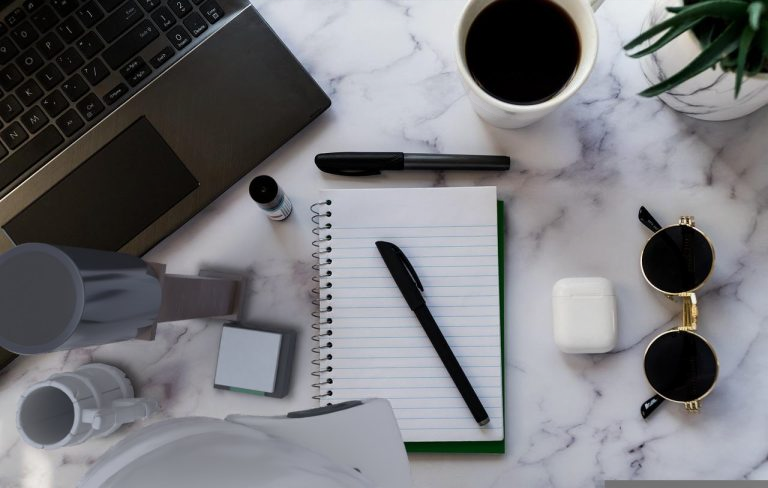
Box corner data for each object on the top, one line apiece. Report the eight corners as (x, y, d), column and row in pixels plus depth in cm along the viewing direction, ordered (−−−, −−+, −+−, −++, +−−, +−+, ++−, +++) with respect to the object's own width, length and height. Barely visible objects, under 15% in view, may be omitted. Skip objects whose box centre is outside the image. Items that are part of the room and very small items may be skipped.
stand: (244, 325, 68) (150, 341, 46) (193, 317, 68) (76, 330, 46) (252, 272, 68) (162, 263, 46) (201, 265, 69) (89, 253, 47)
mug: (70, 360, 69) (-7, 374, 57) (176, 364, 68) (120, 379, 56) (66, 432, 69) (-13, 462, 57) (173, 437, 67) (115, 469, 56)
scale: (288, 395, 67) (280, 400, 63) (221, 384, 67) (210, 389, 64) (297, 331, 67) (289, 333, 64) (230, 322, 68) (220, 323, 65)
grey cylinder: (154, 347, 46) (74, 363, 36) (70, 334, 46) (-31, 346, 36) (168, 258, 46) (93, 250, 36) (84, 247, 47) (-12, 235, 37)
